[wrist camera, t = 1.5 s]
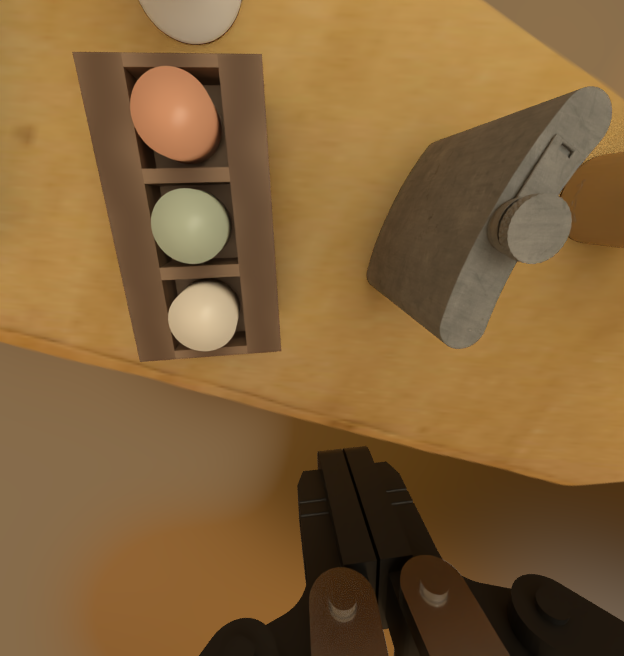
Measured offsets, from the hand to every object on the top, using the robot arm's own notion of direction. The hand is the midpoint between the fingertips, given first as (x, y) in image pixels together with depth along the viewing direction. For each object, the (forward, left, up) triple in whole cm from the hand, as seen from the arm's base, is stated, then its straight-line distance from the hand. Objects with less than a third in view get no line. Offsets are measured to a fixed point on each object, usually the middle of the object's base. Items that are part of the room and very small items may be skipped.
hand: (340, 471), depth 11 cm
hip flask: (-13, -6, -29) cm, 32 cm away
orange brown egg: (+7, -13, -20) cm, 25 cm away
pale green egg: (+7, -6, -20) cm, 22 cm away
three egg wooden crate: (+7, -6, -29) cm, 30 cm away
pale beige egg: (+7, 0, -20) cm, 21 cm away
